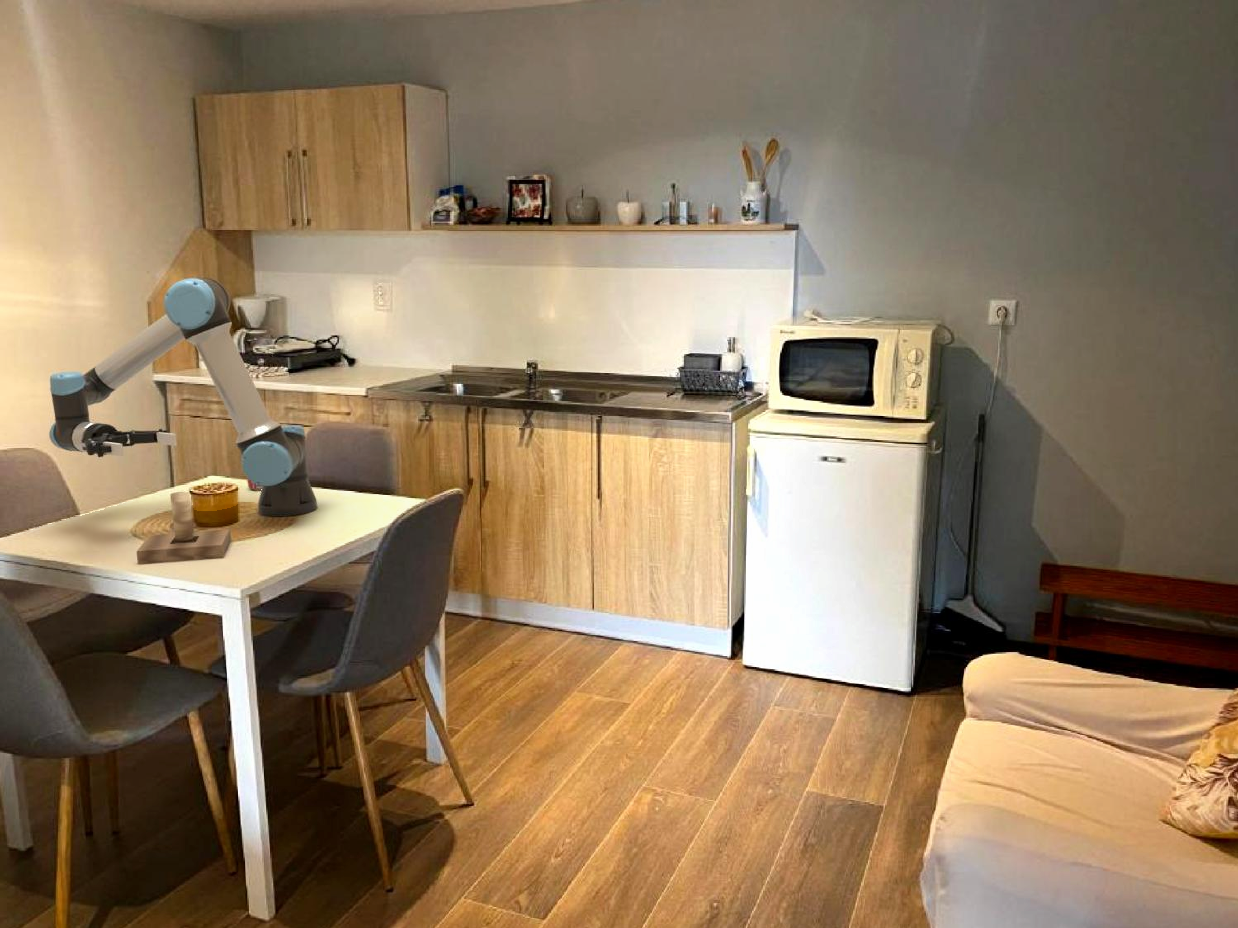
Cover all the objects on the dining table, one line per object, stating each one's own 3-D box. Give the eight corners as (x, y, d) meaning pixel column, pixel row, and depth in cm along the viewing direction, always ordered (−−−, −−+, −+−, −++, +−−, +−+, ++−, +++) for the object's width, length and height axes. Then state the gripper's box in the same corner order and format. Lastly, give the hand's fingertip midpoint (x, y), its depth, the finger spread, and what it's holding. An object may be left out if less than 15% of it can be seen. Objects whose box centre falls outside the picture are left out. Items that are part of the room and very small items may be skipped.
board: (231, 541, 249) (229, 529, 248) (222, 557, 235) (221, 544, 235) (150, 547, 245) (149, 535, 244) (137, 564, 232) (136, 551, 231)
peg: (196, 549, 243) (190, 491, 240) (193, 554, 239) (187, 495, 236) (178, 550, 242) (171, 492, 239) (174, 555, 238) (168, 496, 235)
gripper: (145, 444, 263) (197, 451, 251) (48, 463, 242) (99, 470, 231) (142, 415, 261) (194, 420, 250) (43, 431, 241) (95, 437, 229)
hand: (148, 444), depth 240 cm, fingers open, 13 cm apart
